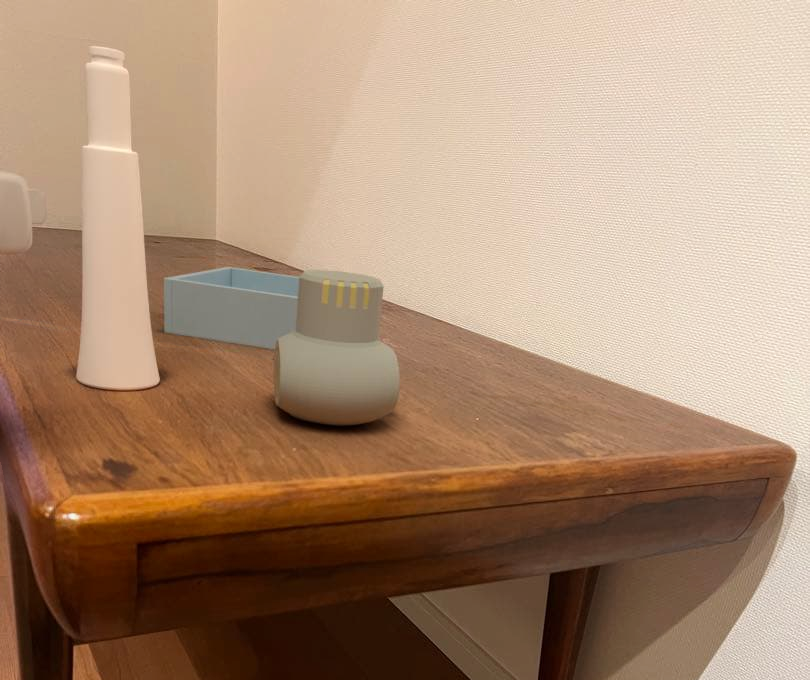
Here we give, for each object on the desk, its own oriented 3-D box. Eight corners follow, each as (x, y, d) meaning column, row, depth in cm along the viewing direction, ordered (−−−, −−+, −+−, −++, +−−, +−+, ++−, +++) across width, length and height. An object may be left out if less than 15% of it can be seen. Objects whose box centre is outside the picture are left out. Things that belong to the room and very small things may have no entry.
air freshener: (399, 441, 54) (417, 293, 50) (279, 436, 52) (287, 280, 48) (373, 399, 64) (386, 271, 60) (271, 393, 62) (277, 261, 58)
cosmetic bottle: (86, 392, 56) (66, 36, 47) (68, 371, 61) (47, 43, 52) (169, 389, 59) (166, 55, 50) (147, 370, 64) (140, 60, 55)
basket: (164, 337, 76) (163, 278, 74) (226, 317, 90) (227, 266, 88) (317, 361, 74) (321, 301, 72) (356, 337, 88) (361, 285, 86)
